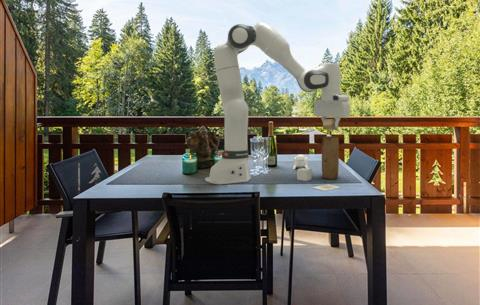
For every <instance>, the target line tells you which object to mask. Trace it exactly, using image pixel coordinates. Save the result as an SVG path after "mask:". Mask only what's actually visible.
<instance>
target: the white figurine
mask: <svg viewBox="0 0 480 305" xmlns="http://www.w3.org/2000/svg"><path fill="white" fill-rule="evenodd" d="M293 160H294V161H293V166H292V170H296V168H298V169H301V168H307V169H309V166H308V157H307V156H305V155H304V154H297V155H296V156H294V158H293Z"/></svg>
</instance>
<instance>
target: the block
mask: <svg viewBox="0 0 480 305" xmlns="http://www.w3.org/2000/svg"><path fill="white" fill-rule="evenodd" d="M321 143H322V144H321V172H322V173H321V175H322V178H324V179H327V180H335V179H337V178H339V165H340V164H339V163H340V162H339V161H340V156H339V155H340V154H339V153H340V150H339V149H340V147H339V137H338V136H334V135H332V136H331V135H329V136H324V137H323V138H322V142H321Z"/></svg>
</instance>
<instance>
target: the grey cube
mask: <svg viewBox="0 0 480 305" xmlns="http://www.w3.org/2000/svg"><path fill="white" fill-rule="evenodd" d="M312 173H313V172H312V168H308V169H307V168H305V167H303V168H298V169H297V170H296V180H297V181H305V182H307V181H311V180H313V179H312V178H313V176H312V175H313V174H312Z"/></svg>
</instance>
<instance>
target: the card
mask: <svg viewBox="0 0 480 305" xmlns="http://www.w3.org/2000/svg"><path fill="white" fill-rule="evenodd" d="M341 188H342V187H341V186H337V185H334V184H328V183H327V184H324V185H319V186H314V187H313V186H312V189H315V190H318V191H322V192H328V191H333V190H337V189H338V190H339V189H341Z"/></svg>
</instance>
